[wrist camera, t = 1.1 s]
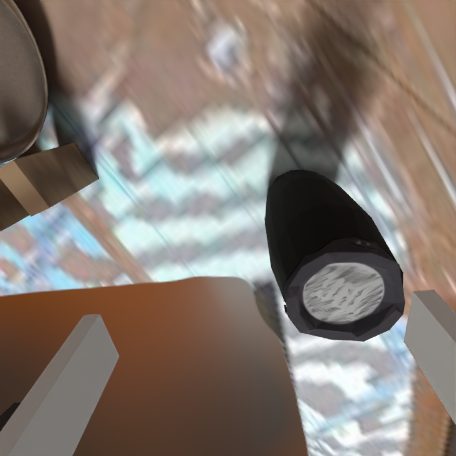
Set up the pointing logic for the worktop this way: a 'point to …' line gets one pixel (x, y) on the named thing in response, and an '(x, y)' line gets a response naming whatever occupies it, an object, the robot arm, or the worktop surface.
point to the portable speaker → (330, 260)
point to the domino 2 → (47, 177)
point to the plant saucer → (19, 84)
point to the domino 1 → (9, 208)
